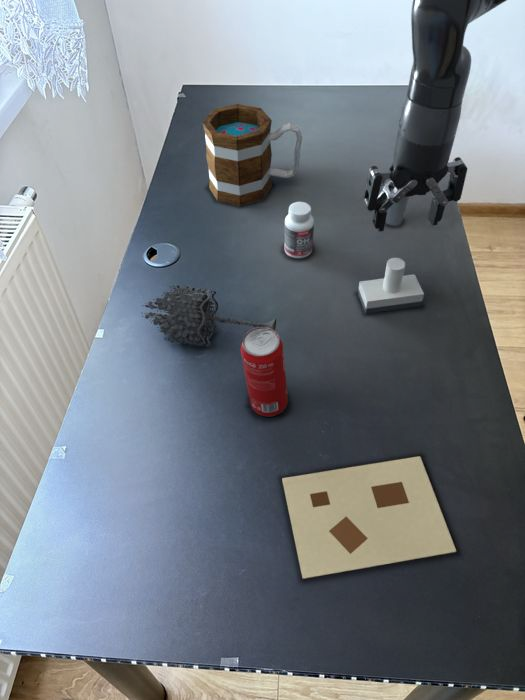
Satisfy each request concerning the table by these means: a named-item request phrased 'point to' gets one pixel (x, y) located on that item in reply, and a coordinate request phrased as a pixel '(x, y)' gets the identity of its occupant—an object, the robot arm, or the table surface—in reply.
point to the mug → (243, 153)
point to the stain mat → (365, 517)
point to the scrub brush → (391, 290)
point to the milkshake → (396, 211)
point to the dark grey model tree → (191, 315)
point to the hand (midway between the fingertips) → (405, 225)
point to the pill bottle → (299, 230)
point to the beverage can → (265, 371)
